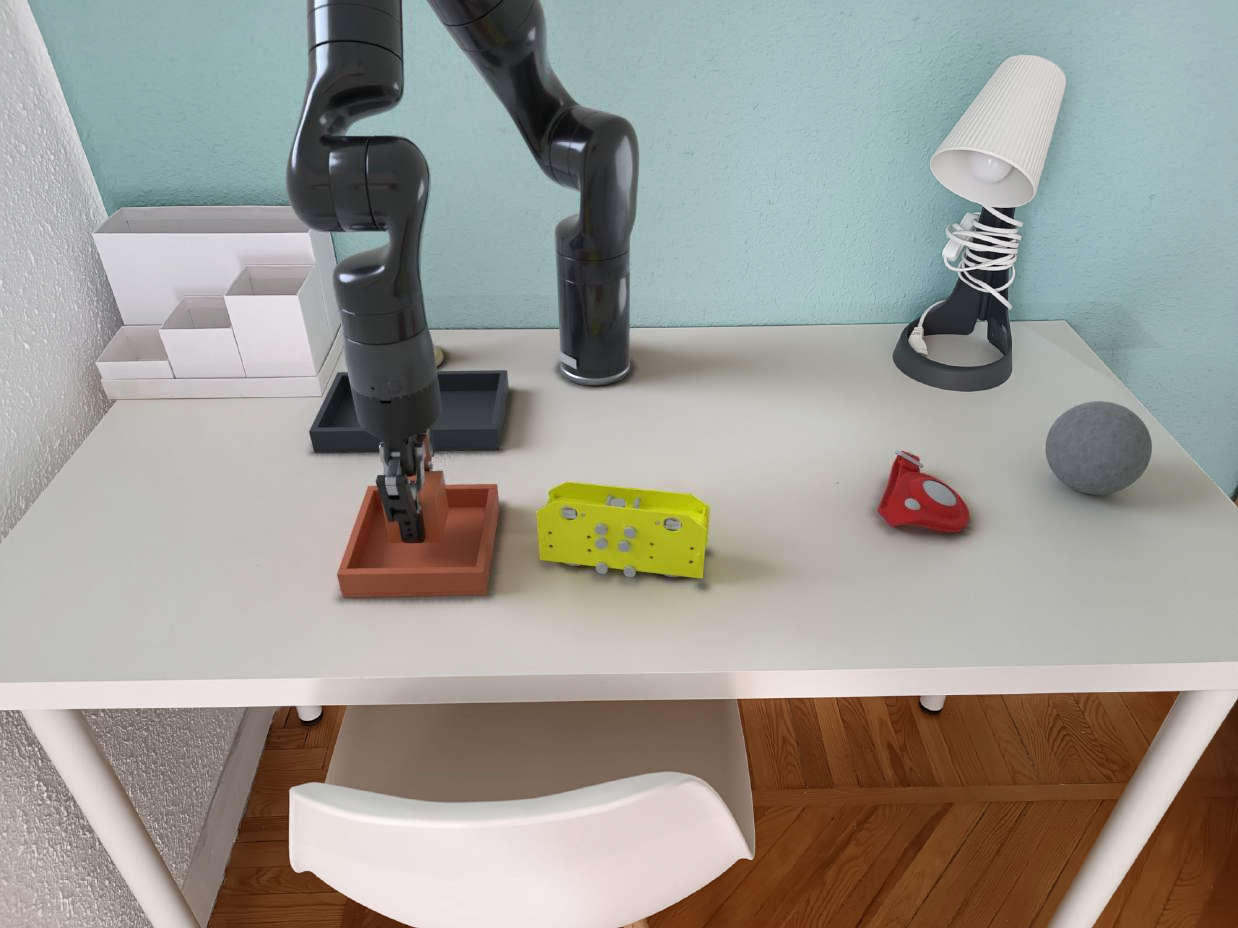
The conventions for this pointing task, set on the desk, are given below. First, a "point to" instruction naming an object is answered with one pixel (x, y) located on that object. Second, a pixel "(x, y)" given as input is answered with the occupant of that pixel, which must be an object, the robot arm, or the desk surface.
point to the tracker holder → (921, 498)
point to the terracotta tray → (423, 550)
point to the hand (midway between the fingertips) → (419, 521)
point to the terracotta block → (427, 509)
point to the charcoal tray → (462, 426)
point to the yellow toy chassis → (624, 529)
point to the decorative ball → (1098, 447)
